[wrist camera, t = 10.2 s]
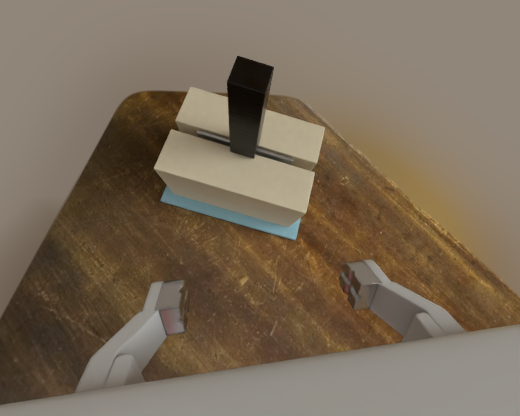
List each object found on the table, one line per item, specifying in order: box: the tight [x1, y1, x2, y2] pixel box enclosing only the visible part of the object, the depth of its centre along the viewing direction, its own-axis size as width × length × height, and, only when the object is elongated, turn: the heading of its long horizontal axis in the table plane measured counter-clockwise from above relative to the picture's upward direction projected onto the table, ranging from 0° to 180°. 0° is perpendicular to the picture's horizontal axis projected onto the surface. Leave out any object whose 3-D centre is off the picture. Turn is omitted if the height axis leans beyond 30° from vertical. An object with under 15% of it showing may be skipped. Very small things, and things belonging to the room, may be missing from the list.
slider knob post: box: [197, 56, 293, 165], centre depth 18 cm, size 8×2×13 cm, turn 75°
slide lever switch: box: [154, 87, 325, 240], centre depth 22 cm, size 14×10×7 cm
